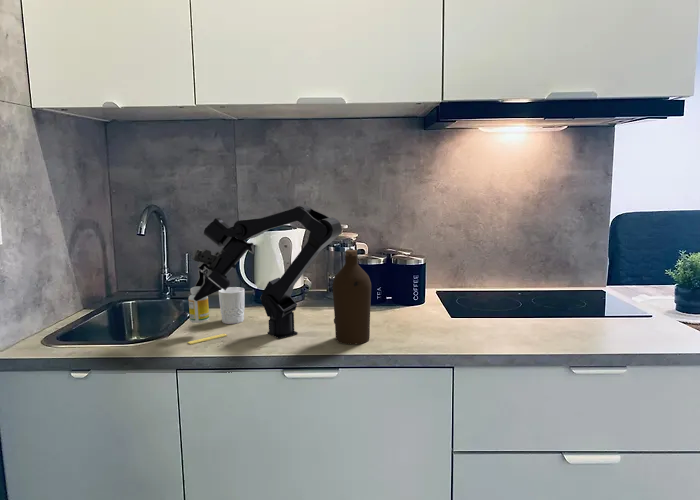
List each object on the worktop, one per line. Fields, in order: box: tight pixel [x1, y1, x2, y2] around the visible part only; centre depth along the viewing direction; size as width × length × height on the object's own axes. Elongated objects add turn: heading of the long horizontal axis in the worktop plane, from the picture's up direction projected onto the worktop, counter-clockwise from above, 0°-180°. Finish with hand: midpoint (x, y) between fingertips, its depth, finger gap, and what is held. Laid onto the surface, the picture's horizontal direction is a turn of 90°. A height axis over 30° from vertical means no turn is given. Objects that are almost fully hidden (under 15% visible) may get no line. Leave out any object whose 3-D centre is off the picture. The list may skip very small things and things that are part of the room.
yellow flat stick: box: [187, 333, 228, 346], centre depth 149 cm, size 11×2×1 cm, turn 130°
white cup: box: [218, 286, 245, 325], centre depth 166 cm, size 8×8×10 cm
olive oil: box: [332, 249, 372, 346], centre depth 145 cm, size 11×11×25 cm
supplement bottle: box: [188, 286, 210, 324], centre depth 151 cm, size 5×5×10 cm
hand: (193, 297), depth 150 cm, fingers closed on supplement bottle, 5 cm apart
